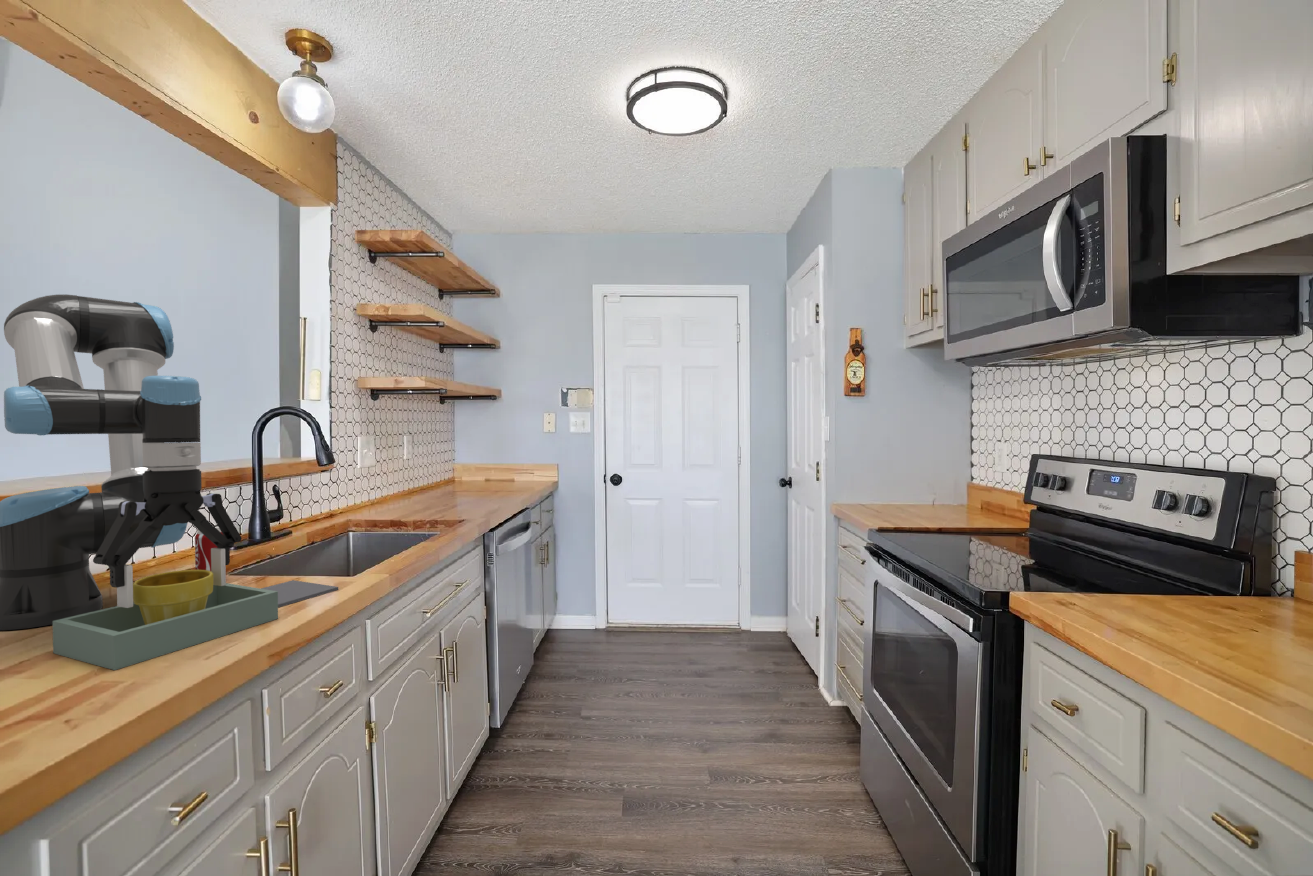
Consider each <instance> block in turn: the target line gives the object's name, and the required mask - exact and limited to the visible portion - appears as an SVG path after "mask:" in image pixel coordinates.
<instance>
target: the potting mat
mask: <svg viewBox="0 0 1313 876" xmlns="http://www.w3.org/2000/svg"><path fill="white" fill-rule="evenodd" d="M260 589H266V590H272V591H278V608H281V607H285V606H289V605H292V604H295V603H298V602H302V601H305V600H309V599H312V598H315V597H318V596H321V595H325V594H328V593H332V592H335V591H338V590H339V586H334V585H328V584H327V585H326V584H322V583H321V584H320V583H313V582H308V581H302V580H301V581H300V580H295V579H292V580H288V581H285V582H281V583H277V584H273V585H269V586H266V587H262V588H260Z"/></svg>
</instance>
